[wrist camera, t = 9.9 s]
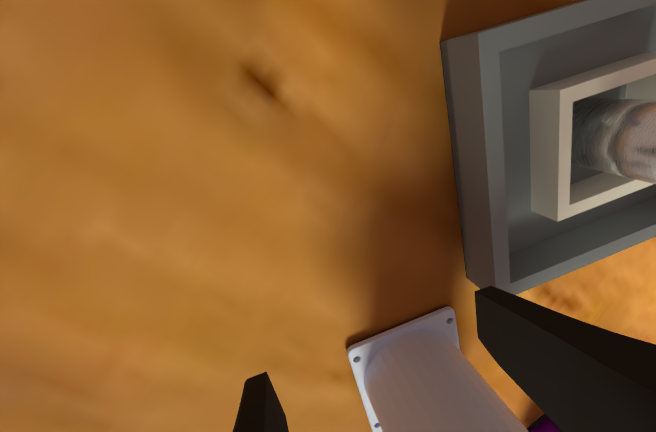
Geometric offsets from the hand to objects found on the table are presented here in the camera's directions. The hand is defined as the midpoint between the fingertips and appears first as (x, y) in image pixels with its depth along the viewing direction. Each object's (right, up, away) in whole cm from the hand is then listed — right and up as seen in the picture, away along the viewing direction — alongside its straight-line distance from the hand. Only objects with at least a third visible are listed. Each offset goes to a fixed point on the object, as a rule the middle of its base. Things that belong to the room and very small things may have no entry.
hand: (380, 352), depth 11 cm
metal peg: (+14, +10, +10) cm, 20 cm away
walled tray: (+14, +10, +11) cm, 20 cm away
